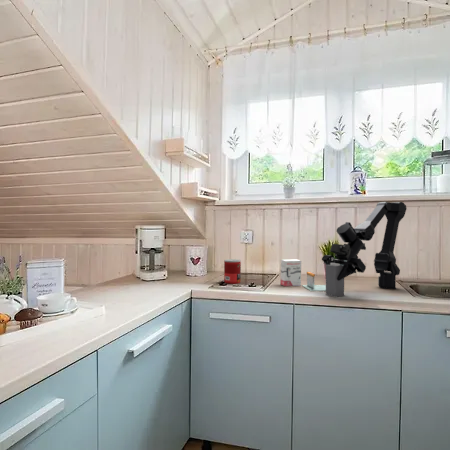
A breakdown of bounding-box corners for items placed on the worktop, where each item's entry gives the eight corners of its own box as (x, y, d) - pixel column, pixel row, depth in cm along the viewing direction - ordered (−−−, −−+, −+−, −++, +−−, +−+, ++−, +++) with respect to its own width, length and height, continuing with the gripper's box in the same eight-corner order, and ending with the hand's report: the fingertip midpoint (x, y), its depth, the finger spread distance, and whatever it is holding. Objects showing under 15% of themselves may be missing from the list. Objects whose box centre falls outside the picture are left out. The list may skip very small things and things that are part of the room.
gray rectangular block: (334, 293, 145) (334, 262, 145) (344, 295, 141) (344, 263, 141) (325, 294, 143) (325, 263, 143) (335, 296, 138) (335, 264, 138)
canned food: (240, 284, 167) (240, 260, 167) (224, 283, 167) (224, 260, 167) (240, 281, 175) (240, 259, 175) (224, 281, 175) (224, 259, 175)
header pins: (310, 286, 160) (310, 271, 160) (315, 289, 152) (315, 274, 152) (306, 286, 160) (306, 271, 160) (311, 289, 152) (311, 274, 152)
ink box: (284, 286, 161) (284, 260, 161) (280, 284, 165) (280, 259, 165) (301, 285, 163) (301, 260, 163) (296, 284, 168) (296, 259, 168)
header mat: (329, 285, 163) (329, 284, 163) (340, 290, 150) (340, 290, 150) (302, 285, 162) (302, 285, 162) (310, 291, 150) (310, 290, 150)
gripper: (324, 236, 152) (305, 263, 146) (361, 237, 135) (340, 268, 130) (337, 253, 156) (319, 280, 150) (374, 257, 139) (355, 287, 134)
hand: (332, 278), depth 141 cm, fingers closed on gray rectangular block, 5 cm apart
